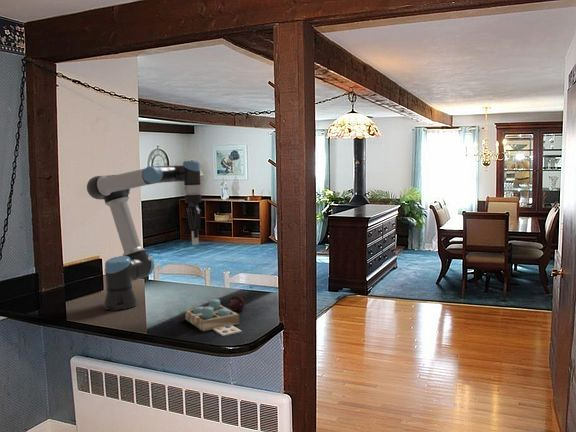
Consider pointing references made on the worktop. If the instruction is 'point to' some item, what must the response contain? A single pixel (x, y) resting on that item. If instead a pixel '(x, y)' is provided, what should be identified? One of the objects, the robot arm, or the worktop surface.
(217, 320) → the wooden compartment tray
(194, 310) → the teal rounded lump
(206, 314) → the teal domed cylinder
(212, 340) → the worktop surface
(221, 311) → the teal blunt tapered piece
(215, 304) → the teal blunt egg shape
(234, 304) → the icecream
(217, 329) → the card
